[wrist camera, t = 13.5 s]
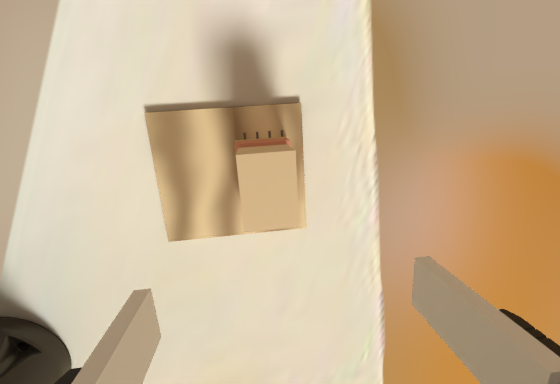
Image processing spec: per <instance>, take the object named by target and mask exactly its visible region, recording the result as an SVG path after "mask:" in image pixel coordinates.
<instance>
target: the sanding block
mask: <svg viewBox="0 0 560 384" xmlns="http://www.w3.org/2000/svg"><path fill="white" fill-rule="evenodd" d="M234 146H235V155H236V165H237V174H238V183H239V193H240V202H241V211H242V219H243V228H244V233H245V232H255V231H265V230H275V229H284V228H294V227H299V209H298V189H297V168H296V150H294V149H293V148H292V147H291V144H290V140H289V139H287V137H274V138H261V139H247V140H235V144H234Z"/></svg>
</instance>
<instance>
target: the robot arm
mask: <svg viewBox="0 0 560 384" xmlns="http://www.w3.org/2000/svg"><path fill="white" fill-rule="evenodd" d="M412 305H413V306H414V307H415V308H416V309H417V310H418V312H419V313H420V314H421V315H422V316H423V318H424V319H425V320H426V321H427V322H428V323H429V324H430V326H431V327H432V328H433V329H434V330H435V331H436V332H437V334H438V335H439V336H440V337H441V338H442V339H443V341H444V342H445V343H446V344H447V345H448V346H449V347H450V349H451V350H452V351H453V352H454V353H455V354H456V355H457V357H458V358H459V359H460V360H461V361H462V362H463V364H464V365H465V366H466V367H467V368H468V369H469V370H470V372H472V374H473V375H474V376H475V377H476V378H477V380H478V381H479V382H480V383H481V384H560V346H559V345H558V344H556V343H555V342H554V341H552V340H551V339H549V338H547V337H546V336H545V335H544V334H542V333H541V332H540V331H538V330H535V328H534V327H533V326H531V325H530V324H529V323H528V322H526V321H525V320H524V319H522V318H521V317H519V316H517V315H515V314H513V313H511V312H509V311H507V310H505V309H500V310H498V309H497V308H495V307H494V306H493V305H491V304H490V303H489V302H488V301H486V300H485V299H484V298H482V297H481V296H480V295H479V294H477V293H476V292H475V291H473V290H472V289H471V288H470V287H468V286H467V285H466V284H464V283H463V282H462V281H460V280H459V279H458V278H457V277H455V276H454V275H453V274H451V273H450V272H449V271H448V270H446V269H445V268H443V267H442V266H441V265H440V264H438V263H437V262H436V261H434V260H433V259H432V258H431V257H429V256H427V257H418V258H415V264H414V278H413V291H412ZM160 338H161V333H160V329H159V324H158V320H157V315H156V310H155V306H154V301H153V297H152V292H151V289H143V290H134V291H133V293H132V294H131V296H130V297H129V299H128V300H127V302H126V303H125V305H124V306H123V308H122V309H121V311H120V312H119V313H118V315H117V316H116V318H115V319H114V321H113V322H112V324H111V325H110V327H109V328H108V330H107V331H106V333H105V334H104V336H103V337H102V339H101V340H100V342H99V343H98V345H97V346H96V348H95V349H94V351H93V352H92V354H91V355H90V357H89V358H88V360H87V361H86V363H85V364H84V366H83V367H82V368H75V369H71V360H70V356H69V354H68V351H67V349H66V348H65V346H64V345H63V343H62V342H61V341H60V340H59V339H58V338H57V337H56V336H55V335H54V334H52V333H51V332H50V331H48V330H47V329H45V328H43V327H41V326H39V325H37V324H35V323H32V322H29V321H26V320H22V319H16V318H6V317H0V384H142V383H143V380H144V378H145V375H146V373H147V370H148V368H149V365H150V363H151V360H152V358H153V356H154V353H155V351H156V348H157V346H158V343H159V341H160Z"/></svg>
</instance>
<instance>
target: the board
mask: <svg viewBox="0 0 560 384" xmlns="http://www.w3.org/2000/svg"><path fill="white" fill-rule="evenodd" d="M145 118H146V124H147V129H148V134H149V140H150V145H151V150H152V156H153V161H154V166H155V171H156V177H157V182H158V187H159V193H160V198H161V203H162V209H163V214H164V219H165V225H166V230H167V235H168V241H169V242H171V241H181V240H191V239H200V238H210V237H220V236H230V235H240V234H249V233H259V232H269V231H279V230H289V229H298V228H306V208H305V184H304V161H303V137H302V113H301V103H290V104H274V105H258V106H242V107H227V108H211V109H195V110H179V111H164V112H148V113H145ZM274 137H287V139H289V140H290V144H291V147H292V148H293V149H294V150H296V168H297V189H298V209H299V227H294V228H284V229H275V230H265V231H255V232H245V233H244V228H243V219H242V211H241V202H240V193H239V183H238V174H237V165H236V155H235V146H234V144H235V140H247V139H261V138H274Z"/></svg>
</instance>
